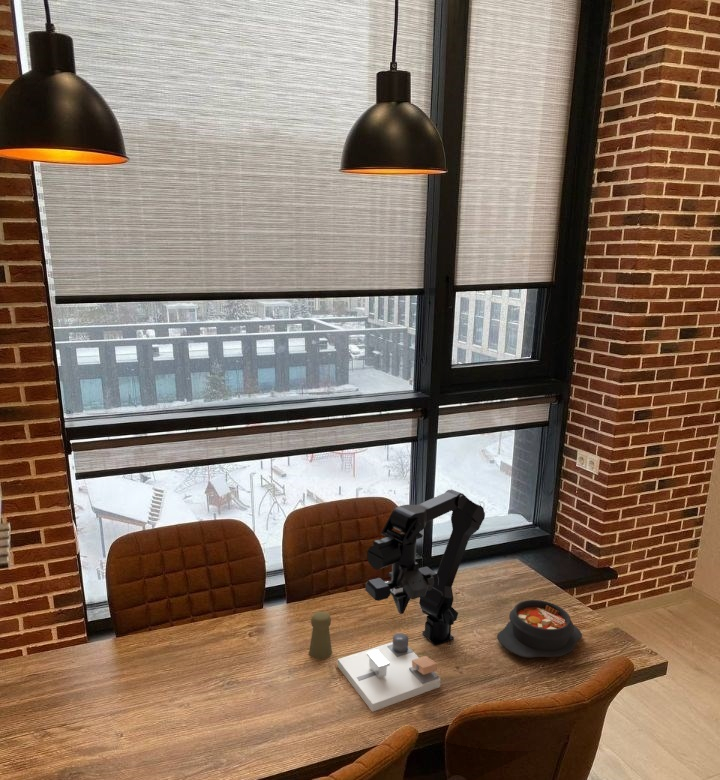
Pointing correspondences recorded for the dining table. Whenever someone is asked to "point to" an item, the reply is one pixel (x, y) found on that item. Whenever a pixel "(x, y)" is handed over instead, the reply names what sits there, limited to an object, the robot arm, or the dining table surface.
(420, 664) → the peach slab
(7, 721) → the dining table surface
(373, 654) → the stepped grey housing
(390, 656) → the panel
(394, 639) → the button
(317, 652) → the olive pawn
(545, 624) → the casserole
